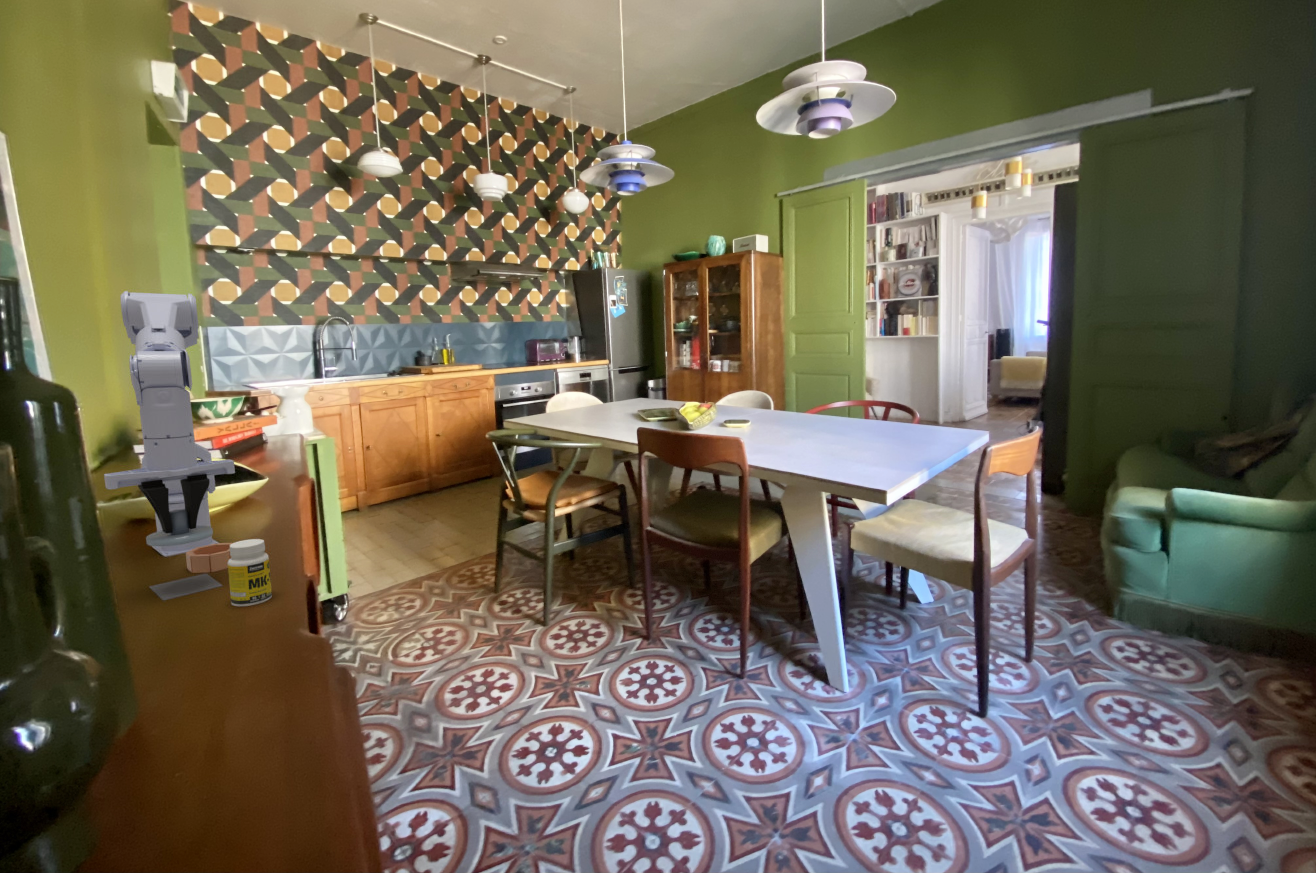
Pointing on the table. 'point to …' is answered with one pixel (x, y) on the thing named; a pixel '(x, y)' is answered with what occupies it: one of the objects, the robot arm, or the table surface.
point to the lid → (179, 531)
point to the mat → (185, 586)
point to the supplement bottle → (249, 573)
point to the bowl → (208, 558)
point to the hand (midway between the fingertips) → (179, 529)
